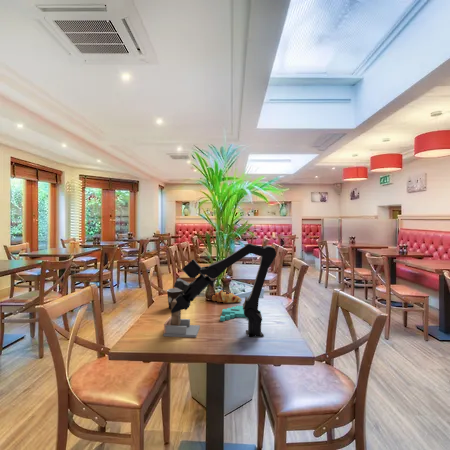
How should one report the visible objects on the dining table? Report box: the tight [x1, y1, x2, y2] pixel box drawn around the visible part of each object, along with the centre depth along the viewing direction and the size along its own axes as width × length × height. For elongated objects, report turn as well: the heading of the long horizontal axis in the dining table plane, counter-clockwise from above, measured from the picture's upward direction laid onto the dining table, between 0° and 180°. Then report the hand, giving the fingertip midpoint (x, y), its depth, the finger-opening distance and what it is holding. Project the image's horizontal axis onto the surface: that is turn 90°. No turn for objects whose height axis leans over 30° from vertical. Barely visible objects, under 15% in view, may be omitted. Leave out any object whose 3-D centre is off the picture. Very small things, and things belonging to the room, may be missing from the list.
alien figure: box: [219, 305, 262, 322], centre depth 149 cm, size 20×2×20 cm
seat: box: [162, 315, 201, 338], centre depth 126 cm, size 14×11×5 cm
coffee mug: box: [166, 287, 183, 310], centre depth 158 cm, size 12×9×10 cm
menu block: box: [170, 299, 182, 326], centre depth 126 cm, size 3×5×11 cm, turn 177°
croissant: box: [211, 289, 243, 304], centre depth 174 cm, size 21×10×8 cm, turn 78°
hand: (173, 310), depth 126 cm, fingers closed on menu block, 5 cm apart
